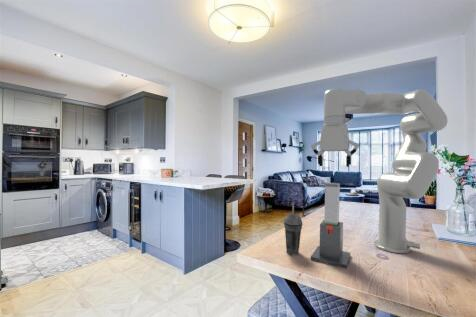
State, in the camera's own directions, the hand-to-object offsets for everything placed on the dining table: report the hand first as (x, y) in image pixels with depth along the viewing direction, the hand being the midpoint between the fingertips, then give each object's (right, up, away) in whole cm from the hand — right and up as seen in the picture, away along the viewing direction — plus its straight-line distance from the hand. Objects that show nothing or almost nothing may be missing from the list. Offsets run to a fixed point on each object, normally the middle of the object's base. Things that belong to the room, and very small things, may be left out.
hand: (334, 166), depth 90 cm
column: (-2, -27, -3) cm, 27 cm away
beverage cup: (-16, -34, +2) cm, 38 cm away
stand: (-2, -34, -3) cm, 34 cm away
